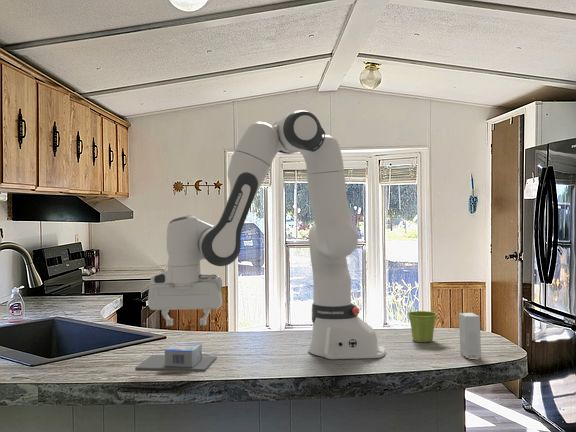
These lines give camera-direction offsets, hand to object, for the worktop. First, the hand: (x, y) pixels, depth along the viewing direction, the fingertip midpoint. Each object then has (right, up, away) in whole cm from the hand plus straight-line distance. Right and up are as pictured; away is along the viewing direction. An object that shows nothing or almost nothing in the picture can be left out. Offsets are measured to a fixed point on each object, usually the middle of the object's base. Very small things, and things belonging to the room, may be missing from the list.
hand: (186, 325), depth 159 cm
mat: (-3, -11, 0) cm, 11 cm away
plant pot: (+71, -10, +25) cm, 76 cm away
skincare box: (+79, -10, +5) cm, 80 cm away
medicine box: (-1, -8, -5) cm, 10 cm away
